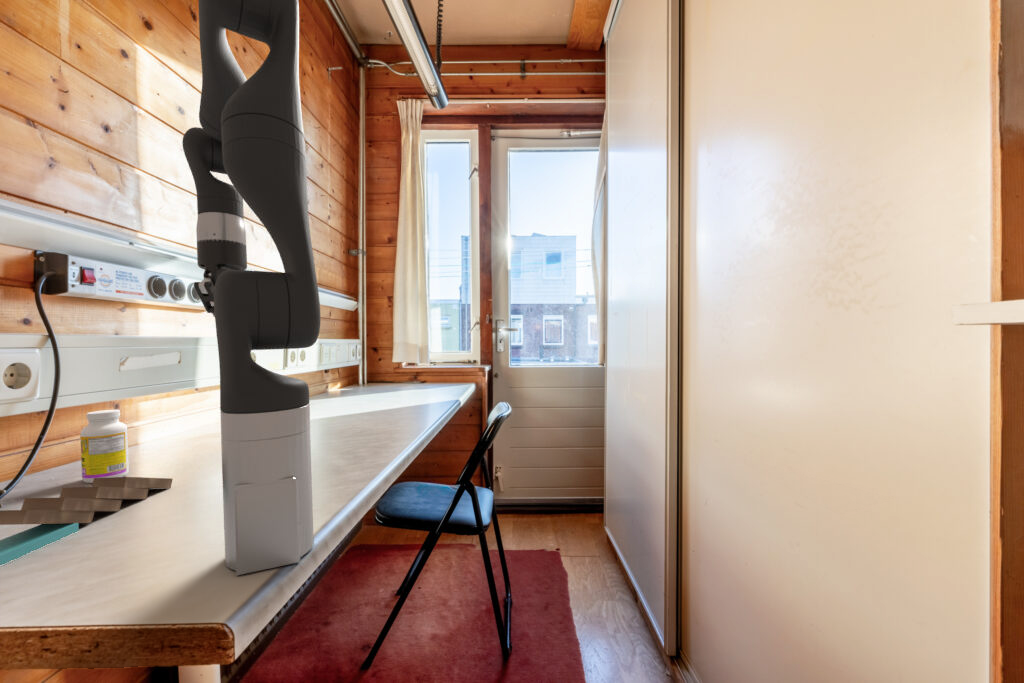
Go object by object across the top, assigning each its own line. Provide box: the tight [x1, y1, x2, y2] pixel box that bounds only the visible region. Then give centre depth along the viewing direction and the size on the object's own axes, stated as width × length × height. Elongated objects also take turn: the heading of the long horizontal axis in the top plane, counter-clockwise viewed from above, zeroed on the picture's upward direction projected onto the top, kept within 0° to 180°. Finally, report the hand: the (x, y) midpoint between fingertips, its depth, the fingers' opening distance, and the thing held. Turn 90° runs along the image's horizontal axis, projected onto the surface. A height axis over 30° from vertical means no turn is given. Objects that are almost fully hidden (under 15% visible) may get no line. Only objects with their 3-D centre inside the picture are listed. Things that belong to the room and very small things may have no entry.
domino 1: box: [0, 509, 96, 526], centre depth 59 cm, size 2×5×10 cm
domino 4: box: [59, 486, 150, 501], centre depth 68 cm, size 2×5×10 cm
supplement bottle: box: [79, 409, 130, 484], centre depth 85 cm, size 7×7×13 cm
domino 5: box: [91, 476, 173, 490], centre depth 74 cm, size 2×5×10 cm
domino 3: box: [20, 496, 123, 513], centre depth 63 cm, size 2×5×10 cm
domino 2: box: [0, 523, 80, 565], centre depth 56 cm, size 2×5×10 cm
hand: (225, 338), depth 80 cm, fingers closed
